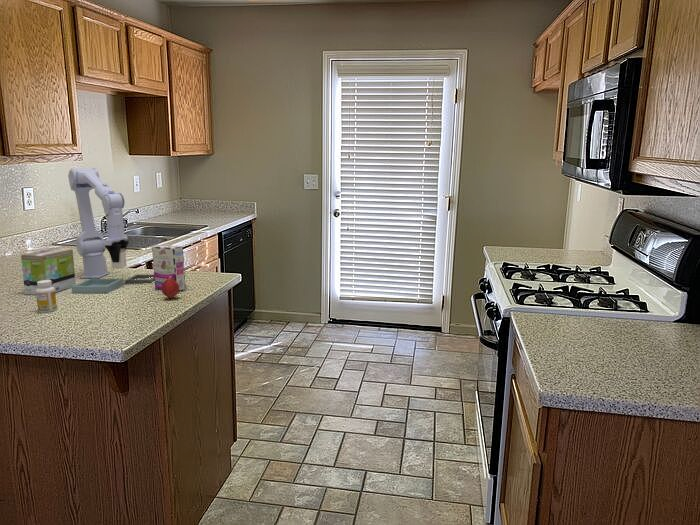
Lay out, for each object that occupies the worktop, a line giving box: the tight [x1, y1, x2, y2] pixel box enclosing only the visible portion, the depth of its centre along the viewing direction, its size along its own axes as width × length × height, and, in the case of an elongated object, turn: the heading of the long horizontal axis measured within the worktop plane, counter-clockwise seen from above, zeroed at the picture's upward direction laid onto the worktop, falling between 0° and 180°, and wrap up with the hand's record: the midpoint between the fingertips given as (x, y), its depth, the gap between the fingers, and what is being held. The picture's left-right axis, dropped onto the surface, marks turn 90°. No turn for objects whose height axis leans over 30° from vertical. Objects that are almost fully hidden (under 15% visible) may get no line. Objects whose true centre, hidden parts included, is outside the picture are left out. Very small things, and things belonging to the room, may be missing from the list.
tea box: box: [20, 248, 77, 296], centre depth 201 cm, size 15×10×15 cm
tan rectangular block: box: [110, 248, 128, 269], centre depth 208 cm, size 4×4×7 cm
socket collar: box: [125, 274, 155, 285], centre depth 216 cm, size 10×10×2 cm
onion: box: [161, 276, 180, 300], centre depth 189 cm, size 6×6×8 cm
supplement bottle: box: [35, 280, 58, 314], centre depth 175 cm, size 5×5×10 cm
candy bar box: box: [151, 244, 186, 292], centre depth 201 cm, size 11×5×16 cm, turn 62°
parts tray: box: [70, 278, 124, 294], centre depth 204 cm, size 13×13×2 cm
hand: (118, 261), depth 208 cm, fingers closed on tan rectangular block, 4 cm apart
